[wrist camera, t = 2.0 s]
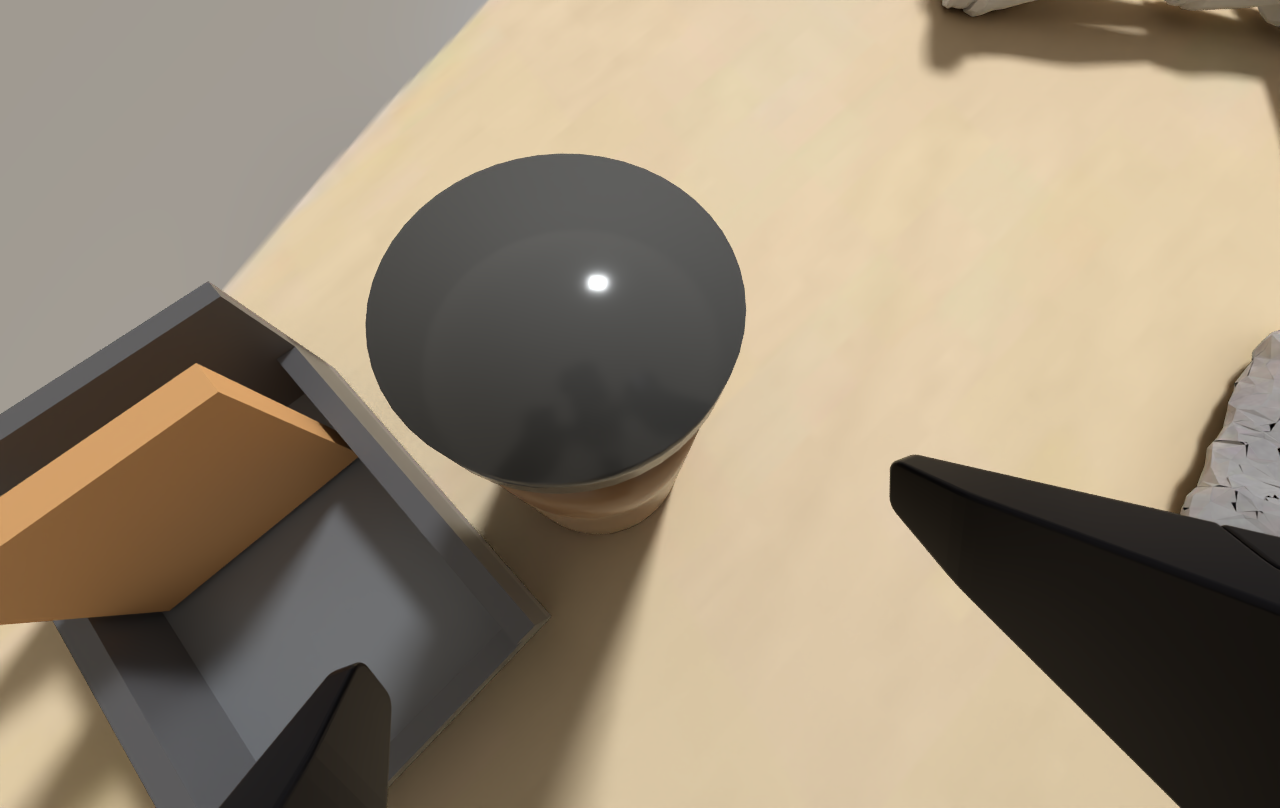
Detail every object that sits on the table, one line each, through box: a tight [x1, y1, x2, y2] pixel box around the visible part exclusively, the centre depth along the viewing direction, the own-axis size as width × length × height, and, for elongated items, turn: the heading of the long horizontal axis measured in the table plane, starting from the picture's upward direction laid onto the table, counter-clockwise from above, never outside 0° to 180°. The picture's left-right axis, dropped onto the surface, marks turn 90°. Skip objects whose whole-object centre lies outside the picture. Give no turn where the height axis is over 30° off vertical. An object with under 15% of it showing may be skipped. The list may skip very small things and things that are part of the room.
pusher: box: [0, 363, 358, 625], centre depth 15 cm, size 1×8×7 cm, turn 136°
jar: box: [366, 154, 746, 534], centre depth 15 cm, size 7×7×12 cm
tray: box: [0, 282, 551, 808], centre depth 15 cm, size 15×11×7 cm
